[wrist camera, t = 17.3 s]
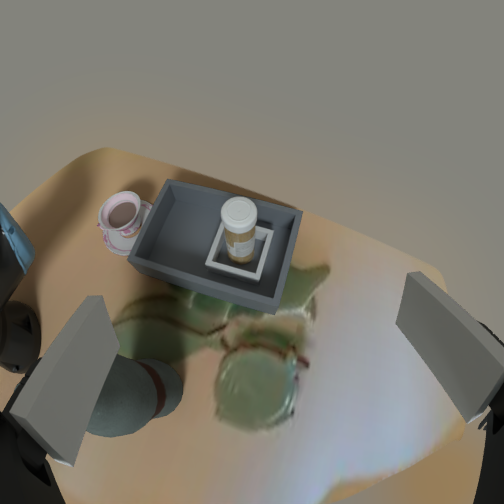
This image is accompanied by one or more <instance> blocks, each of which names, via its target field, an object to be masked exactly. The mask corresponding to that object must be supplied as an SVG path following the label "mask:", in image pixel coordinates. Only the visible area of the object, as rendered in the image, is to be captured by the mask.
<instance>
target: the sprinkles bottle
mask: <svg viewBox="0 0 504 504" xmlns="http://www.w3.org/2000/svg"><path fill="white" fill-rule="evenodd" d="M221 219H222V223H223V225H224V230H225V239H226V246H227V254H228V257H229V259H230V260H231V261H232V262H233V263H236V264H239V265H243V264H246V263H248V262H250V261H251V260H252V258H253V256H254V245H255V230H256V229H255V224H256V221H257V208H256V205H255V204H254V203H253V202H252V201H251V200H250V199H248V198H246V197H240V196H238V197H233V198H230V199H229V200H227V201H226V202H225V203H224V204H223V206H222V208H221Z"/></svg>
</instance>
